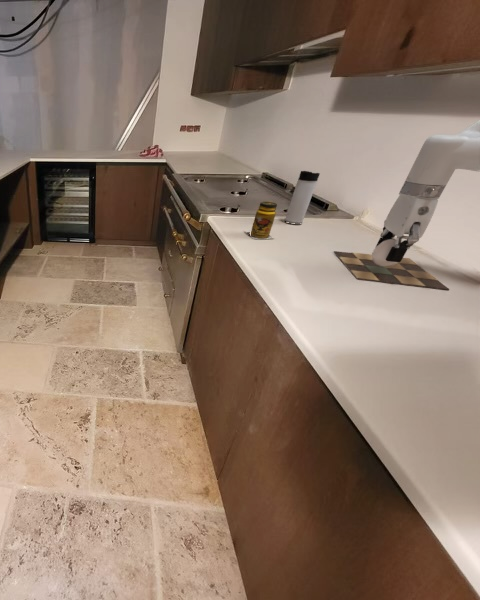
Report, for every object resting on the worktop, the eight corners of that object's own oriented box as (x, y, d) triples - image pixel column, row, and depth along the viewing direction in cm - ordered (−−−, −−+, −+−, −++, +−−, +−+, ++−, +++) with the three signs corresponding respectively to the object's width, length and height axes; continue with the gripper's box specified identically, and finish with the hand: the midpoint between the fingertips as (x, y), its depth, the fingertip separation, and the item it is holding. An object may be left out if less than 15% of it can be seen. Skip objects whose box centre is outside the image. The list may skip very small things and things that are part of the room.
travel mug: (280, 221, 131) (297, 170, 121) (290, 219, 134) (307, 168, 123) (295, 226, 126) (313, 172, 116) (305, 223, 129) (324, 170, 119)
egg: (369, 268, 90) (383, 241, 86) (365, 259, 95) (377, 234, 91) (398, 272, 87) (414, 245, 83) (392, 263, 92) (406, 237, 88)
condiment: (253, 239, 115) (263, 205, 108) (243, 231, 122) (252, 199, 116) (274, 239, 114) (285, 205, 108) (262, 231, 122) (272, 199, 115)
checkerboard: (408, 259, 99) (409, 258, 98) (448, 290, 83) (449, 288, 82) (333, 252, 104) (334, 250, 104) (356, 279, 88) (357, 277, 88)
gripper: (462, 199, 72) (419, 271, 82) (421, 184, 86) (388, 246, 96) (421, 197, 74) (384, 267, 84) (387, 182, 88) (358, 243, 98)
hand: (386, 255), depth 89 cm, fingers closed on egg, 6 cm apart
